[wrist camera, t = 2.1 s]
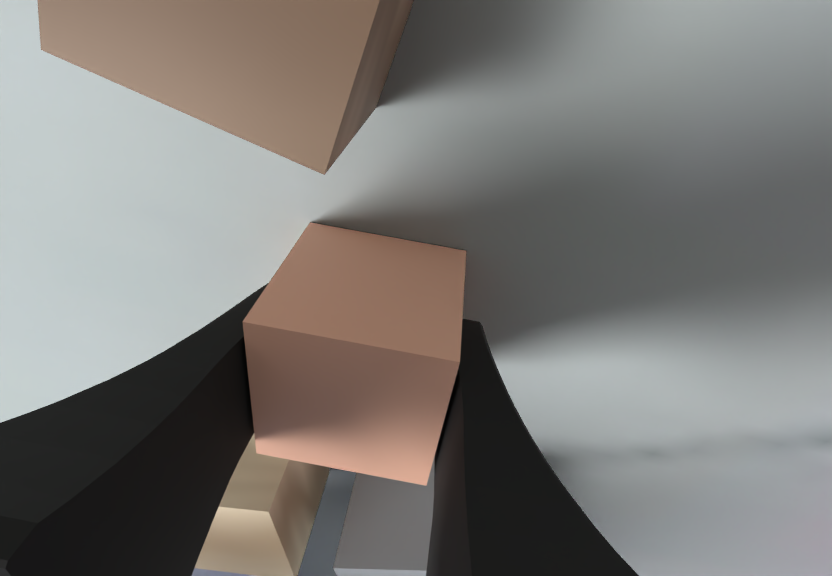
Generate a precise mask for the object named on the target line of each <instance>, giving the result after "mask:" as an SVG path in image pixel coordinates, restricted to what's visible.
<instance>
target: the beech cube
mask: <svg viewBox="0 0 832 576" xmlns="http://www.w3.org/2000/svg"><path fill="white" fill-rule="evenodd" d="M329 471H330V469H329V467H325V466H320V465H315V464H310V463H304V462H299V461H294V460H289V459H283V458H278V457H273V456H268V455H263V454H257V453H256V445H255V435H254V434H253V436H252V438H251V440H250V441H249V443H248V445H247V447H246V449H245V451H244V453H243V454H242V456H241V458H240V460H239V462H238V464H237V466H236V468H235V470H234V472H233V474H232V476H231V479H230V481H229V483H228V486H227V488H226V491H225V493H224V495H223V498H222V500H221V502H220V505H219V507H218V510H217V512H216V514H215V517H214V519H213V522H212V524H211V527H210V530H209V532H208V535H207V537H206V540H205V542H204V545H203V547H202V550H201V552H200V555H199V557H198V560H197V563H196V565H195V568H197V569H206V570H214V571H222V572H231V573H239V574H247V575H256V576H298V573H299V569H300V566H301V563H302V560H303V556H304V553H305V550H306V546H307V543H308V540H309V537H310V533H311V530H312V527H313V524H314V520H315V517H316V514H317V510H318V507H319V504H320V501H321V497H322V494H323V491H324V488H325V484H326V481H327V478H328V475H329Z"/></svg>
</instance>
